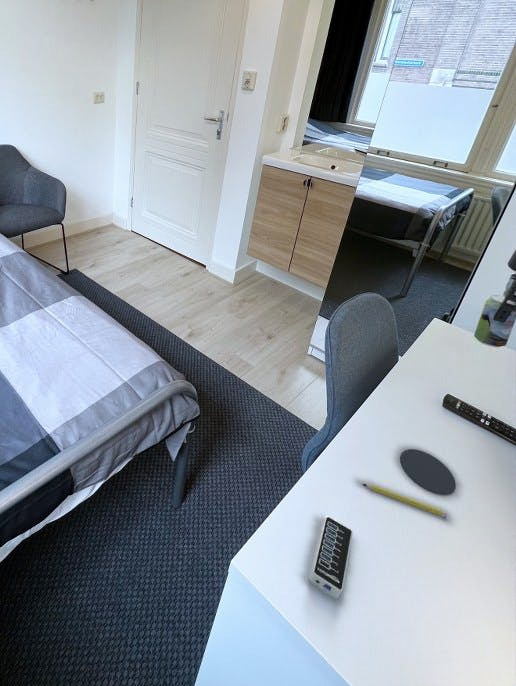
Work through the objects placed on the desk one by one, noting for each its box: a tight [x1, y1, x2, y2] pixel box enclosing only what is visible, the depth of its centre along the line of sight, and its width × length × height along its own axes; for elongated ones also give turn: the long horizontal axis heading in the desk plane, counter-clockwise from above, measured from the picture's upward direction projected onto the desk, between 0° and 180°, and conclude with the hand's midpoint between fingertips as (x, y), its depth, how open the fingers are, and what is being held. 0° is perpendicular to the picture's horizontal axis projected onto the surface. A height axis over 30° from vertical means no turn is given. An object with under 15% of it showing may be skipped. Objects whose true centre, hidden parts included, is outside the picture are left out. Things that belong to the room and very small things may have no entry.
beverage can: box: [473, 294, 516, 348], centre depth 100 cm, size 6×7×12 cm
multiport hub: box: [307, 515, 353, 599], centre depth 68 cm, size 4×11×2 cm, turn 146°
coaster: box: [399, 448, 457, 495], centre depth 85 cm, size 10×10×1 cm
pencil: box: [362, 483, 448, 519], centre depth 79 cm, size 1×14×1 cm, turn 68°
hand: (500, 314), depth 99 cm, fingers closed on beverage can, 6 cm apart
